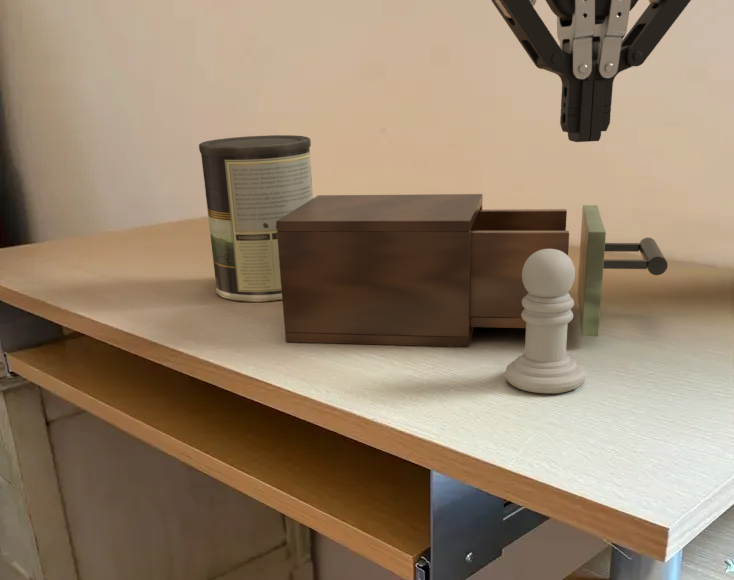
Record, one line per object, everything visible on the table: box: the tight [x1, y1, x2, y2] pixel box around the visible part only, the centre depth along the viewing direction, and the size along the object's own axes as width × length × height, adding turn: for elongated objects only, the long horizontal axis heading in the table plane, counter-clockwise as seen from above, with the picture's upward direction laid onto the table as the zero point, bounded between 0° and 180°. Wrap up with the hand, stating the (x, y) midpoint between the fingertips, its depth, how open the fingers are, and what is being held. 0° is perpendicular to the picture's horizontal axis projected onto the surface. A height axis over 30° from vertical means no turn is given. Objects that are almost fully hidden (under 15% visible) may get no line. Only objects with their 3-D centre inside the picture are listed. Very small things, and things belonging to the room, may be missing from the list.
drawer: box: [470, 204, 669, 337], centre depth 66 cm, size 18×11×8 cm, turn 79°
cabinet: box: [276, 193, 484, 348], centre depth 69 cm, size 15×13×10 cm
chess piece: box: [504, 249, 587, 394], centre depth 54 cm, size 5×5×9 cm
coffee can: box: [198, 134, 314, 303], centre depth 79 cm, size 10×10×14 cm
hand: (584, 140), depth 54 cm, fingers closed
